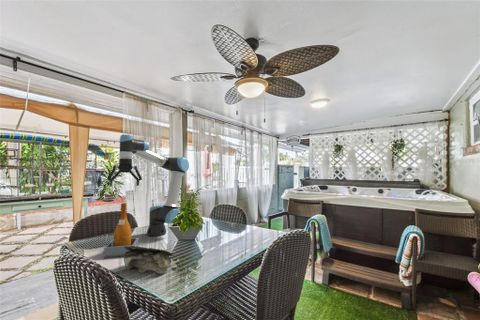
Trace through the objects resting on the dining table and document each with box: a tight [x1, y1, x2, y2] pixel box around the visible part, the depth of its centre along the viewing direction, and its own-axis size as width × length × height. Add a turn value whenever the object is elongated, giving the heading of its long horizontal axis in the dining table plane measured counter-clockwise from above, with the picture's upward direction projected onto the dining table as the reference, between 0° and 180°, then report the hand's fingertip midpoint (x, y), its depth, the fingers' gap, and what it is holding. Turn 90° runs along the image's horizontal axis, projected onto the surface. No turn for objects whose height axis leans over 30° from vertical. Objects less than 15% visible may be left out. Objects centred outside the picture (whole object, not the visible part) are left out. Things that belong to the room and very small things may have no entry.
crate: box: [103, 237, 139, 259], centre depth 136 cm, size 16×16×6 cm
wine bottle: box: [113, 202, 132, 247], centre depth 137 cm, size 10×10×30 cm
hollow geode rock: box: [123, 246, 175, 275], centre depth 112 cm, size 28×13×15 cm
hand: (124, 191), depth 138 cm, fingers open, 13 cm apart
